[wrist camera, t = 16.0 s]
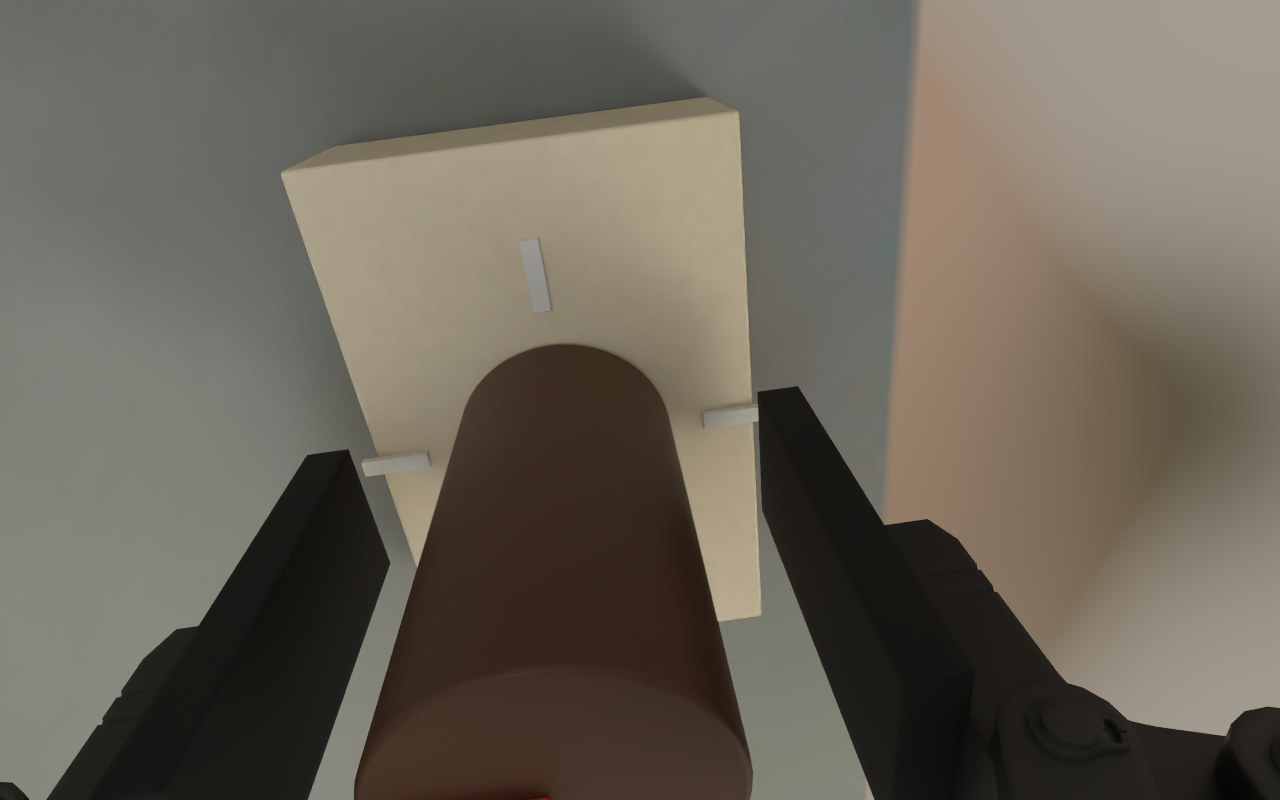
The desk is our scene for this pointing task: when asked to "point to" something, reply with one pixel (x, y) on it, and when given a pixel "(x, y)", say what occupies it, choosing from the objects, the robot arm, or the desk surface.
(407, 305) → the dimmer panel
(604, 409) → the dimmer knob
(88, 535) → the desk surface
